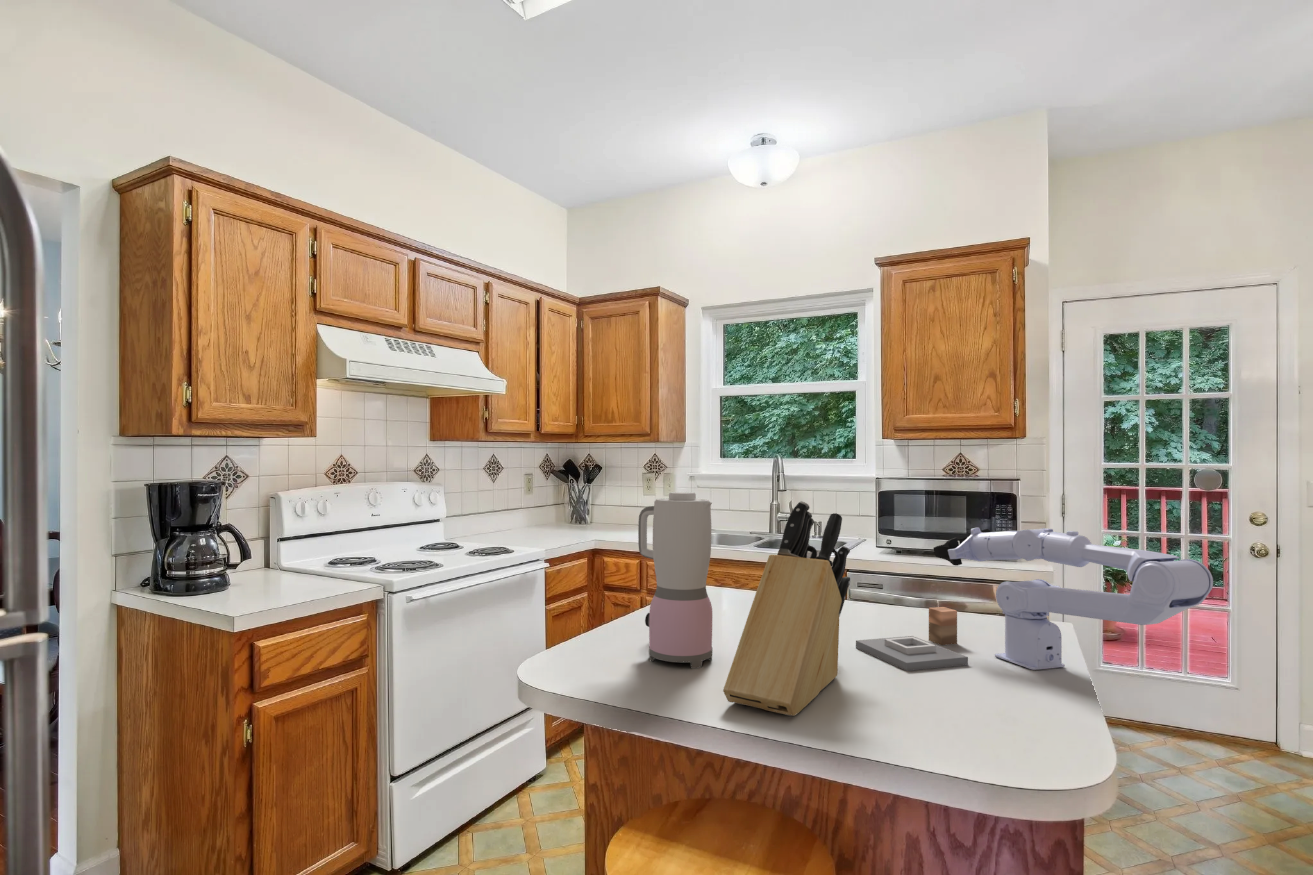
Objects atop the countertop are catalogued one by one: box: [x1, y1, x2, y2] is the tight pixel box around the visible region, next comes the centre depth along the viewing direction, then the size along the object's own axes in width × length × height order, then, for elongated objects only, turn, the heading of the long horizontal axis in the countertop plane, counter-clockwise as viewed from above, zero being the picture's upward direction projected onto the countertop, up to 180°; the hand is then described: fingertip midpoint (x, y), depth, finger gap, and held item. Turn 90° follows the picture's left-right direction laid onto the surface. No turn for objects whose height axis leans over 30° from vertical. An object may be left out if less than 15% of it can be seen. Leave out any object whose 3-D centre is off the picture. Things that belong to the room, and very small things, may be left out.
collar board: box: [855, 635, 969, 672], centre depth 137 cm, size 16×14×3 cm
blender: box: [637, 491, 713, 669], centre depth 134 cm, size 16×12×32 cm
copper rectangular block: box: [928, 606, 958, 646], centre depth 148 cm, size 4×4×7 cm
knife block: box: [722, 500, 851, 717], centre depth 119 cm, size 11×35×31 cm, turn 149°
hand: (948, 547), depth 154 cm, fingers open, 7 cm apart
